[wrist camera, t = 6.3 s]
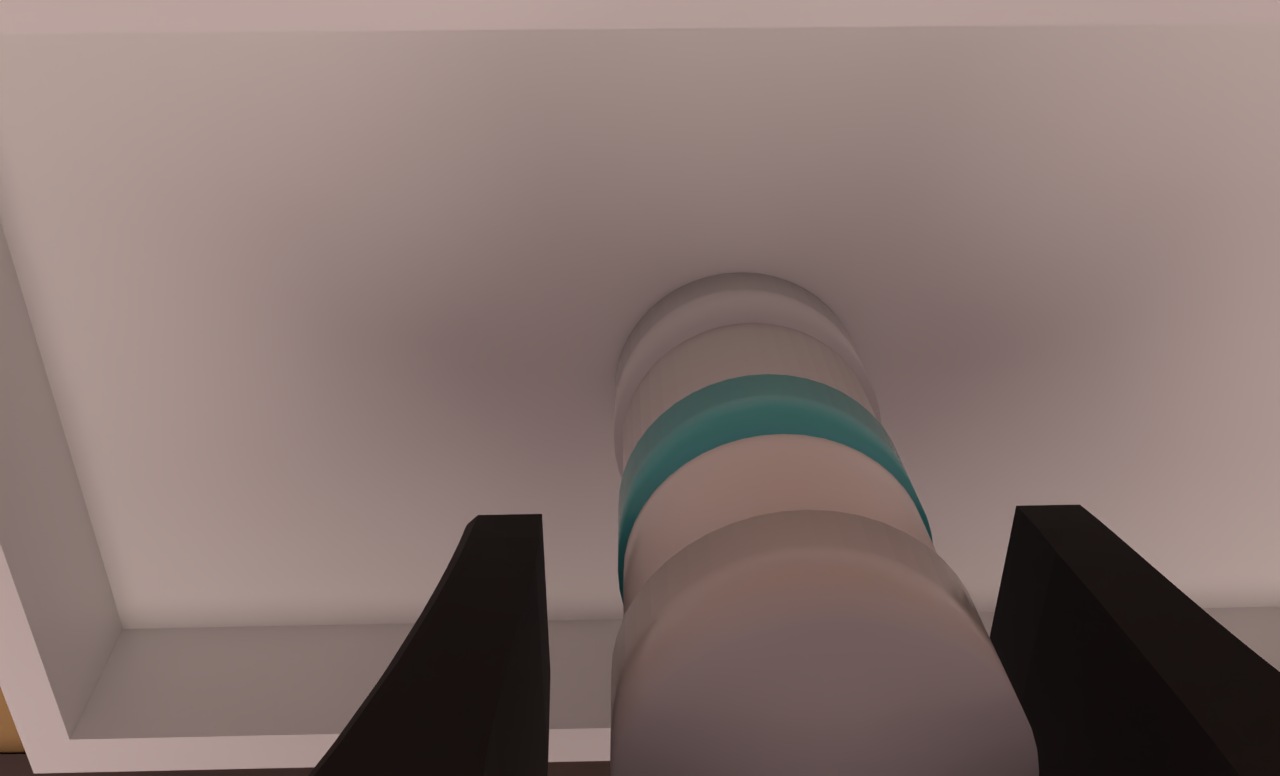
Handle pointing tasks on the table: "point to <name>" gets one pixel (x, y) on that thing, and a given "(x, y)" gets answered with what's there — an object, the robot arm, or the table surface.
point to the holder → (269, 770)
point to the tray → (584, 313)
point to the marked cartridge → (784, 562)
